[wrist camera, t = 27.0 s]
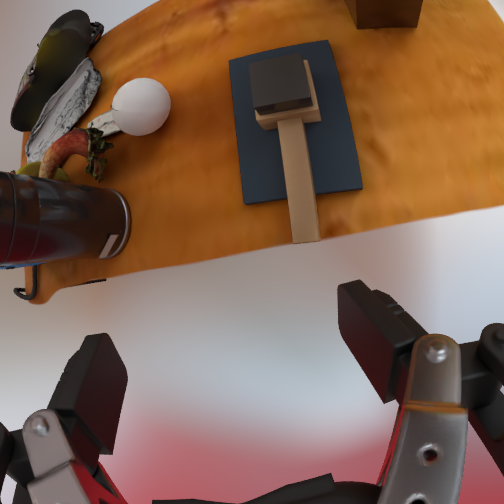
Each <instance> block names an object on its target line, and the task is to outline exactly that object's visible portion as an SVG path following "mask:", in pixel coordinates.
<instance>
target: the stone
mask: <svg viewBox="0 0 504 504" xmlns="http://www.w3.org/2000/svg"><path fill="white" fill-rule="evenodd" d="M101 81H102V77H101V75H100V71H98V70H96V69H94V65H93V61H92V60H91V59H90V57H87V58H86V59H84V60H83V61H82V62H81V64H79V65H78V67H77V68H76V70H75V72H74V73H73V74H72V75H71V76H70V78H69V79H68V80H67V81H66V82H65V83H64V85H63V86H61V88H60V89H59V90H58V91H57V92H56V94H54V95H53V96H52V97H51V98H50V99H49V101H48V103H46V104H45V107H44V108H43V111H42V113H41V115H40V118H39V120H38V121H37V123H36V125H35V126H34V128H33V129H32V131H31V134H30V138H29V140H28V141H27V144H26V146H25V150H26V156H27V163H28V164H29V163H31V162H36V161H42V158H43V156H44V154H45V152H46V151H47V149H48V148H49V147H50V146H51V145H52V144H53V143H54V142H55V141H56V140H57V139H59V138H60V137H61V136H62V135H64V134H66V133H67V132H68V131H69V130H70V129H71V127H72V126H73V125H74V124H75V123H76V122H77V121H78V120H79V118H80V117H81V116H82V115H83V114H84V113H85V111H86V110H87V109H88V108H89V107H90V105H91V103H92V100H93V98H94V96H95V94H96V92H97V91H98V87H99V85H100V84H101ZM40 128H41V129H40ZM39 129H40V130H39ZM38 130H39V131H38ZM37 131H38V132H37Z"/></svg>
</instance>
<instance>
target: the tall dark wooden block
mask: <svg viewBox="0 0 504 504" xmlns="http://www.w3.org/2000/svg"><path fill="white" fill-rule="evenodd" d="M422 2H423V0H345V3H346V5H347V7H348V9H349V11H350V14H351V16H352V18H353V21H354V23H355V26H356V28H357V29H367V28H389V27H417V25H418V20H419V16H420V11H421V7H422Z"/></svg>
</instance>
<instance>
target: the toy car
mask: <svg viewBox="0 0 504 504" xmlns="http://www.w3.org/2000/svg"><path fill="white" fill-rule="evenodd" d="M90 24H91V28H92V36H91V40H90V46H89V48H91V47H92V46H94V45H95V44H96V43H97V41H98V40H99V39H100V37H101V36H102V34H103V31H104V26H103V25H102V24H101V23H99V22H95V23H90Z"/></svg>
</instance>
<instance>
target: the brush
mask: <svg viewBox="0 0 504 504" xmlns="http://www.w3.org/2000/svg"><path fill="white" fill-rule="evenodd" d="M248 68H249V76H250V83H251V91H252V98H253V106H254V109H255V114H256V120H257V122H258V123H259V124H260V125H261V127H262V128H263V129H264V130H270V129H276V128H278V131H279V138H280V145H281V152H282V159H283V166H284V174H285V181H286V189H287V197H288V205H289V214H290V222H291V231H292V240H293V244H300V243H309V242H318V241H321V239H320V230H319V222H318V213H317V205H316V198H315V190H314V183H313V176H312V169H311V163H310V156H309V150H308V144H307V138H306V132H305V126H304V123H311V122H318V121H321V116H320V112H319V107H318V102H317V97H316V93H315V88H314V84H313V79H312V75H311V71H310V68H309V64H308V60H303V58H302V55H301V53H296V54H291V55H286V56H281V57H276V58H271V59H266V60H262V61H258V62H254V63H250V64H248Z"/></svg>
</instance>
